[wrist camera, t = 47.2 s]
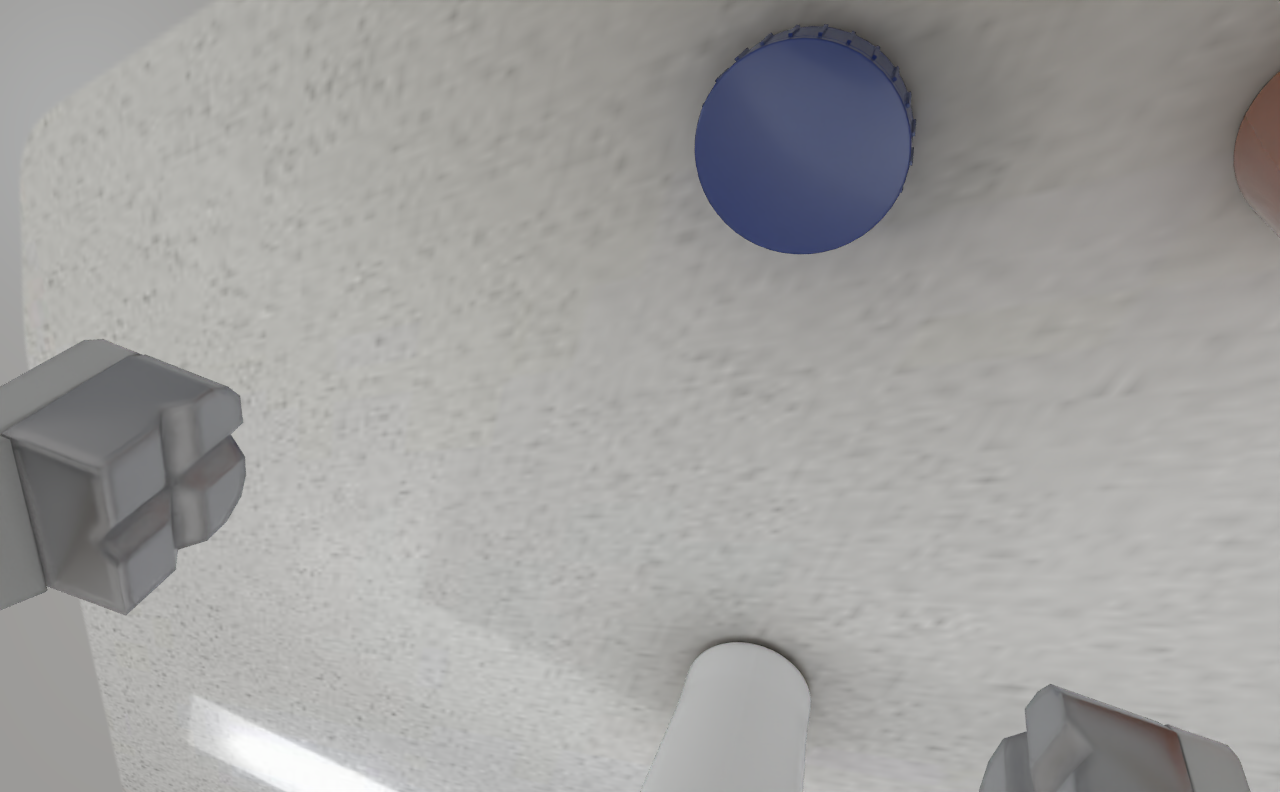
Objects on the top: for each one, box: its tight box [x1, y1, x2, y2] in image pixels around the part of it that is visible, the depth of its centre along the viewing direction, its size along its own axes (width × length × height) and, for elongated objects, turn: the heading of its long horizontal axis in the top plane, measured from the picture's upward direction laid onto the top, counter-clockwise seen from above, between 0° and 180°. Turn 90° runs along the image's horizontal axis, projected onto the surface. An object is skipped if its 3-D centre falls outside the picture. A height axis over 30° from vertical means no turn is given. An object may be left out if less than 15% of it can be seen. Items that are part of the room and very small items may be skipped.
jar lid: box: [695, 24, 916, 254], centre depth 26 cm, size 6×6×2 cm
